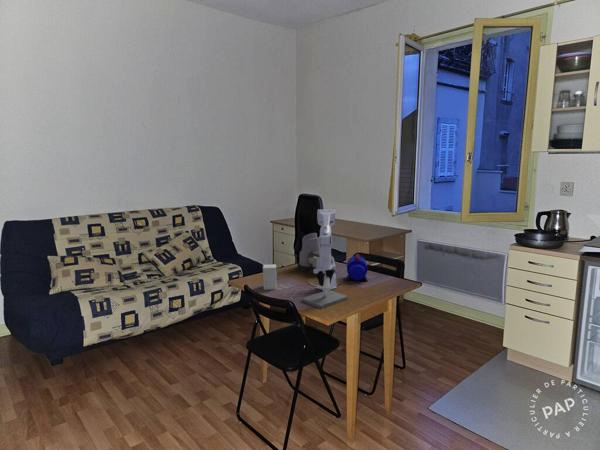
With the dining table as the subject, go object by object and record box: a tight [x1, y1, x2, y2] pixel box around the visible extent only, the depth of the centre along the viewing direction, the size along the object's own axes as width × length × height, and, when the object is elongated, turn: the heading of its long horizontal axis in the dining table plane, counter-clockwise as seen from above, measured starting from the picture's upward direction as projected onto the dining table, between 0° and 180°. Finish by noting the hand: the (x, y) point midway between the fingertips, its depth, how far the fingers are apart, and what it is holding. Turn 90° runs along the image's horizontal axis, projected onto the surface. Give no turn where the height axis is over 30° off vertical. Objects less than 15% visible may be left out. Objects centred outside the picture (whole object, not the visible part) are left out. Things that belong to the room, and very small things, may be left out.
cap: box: [320, 276, 330, 289], centre depth 212 cm, size 5×5×5 cm
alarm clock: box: [346, 253, 369, 283], centre depth 248 cm, size 12×12×15 cm
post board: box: [300, 289, 349, 309], centre depth 213 cm, size 20×14×5 cm
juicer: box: [295, 232, 334, 276], centre depth 266 cm, size 30×16×24 cm, turn 34°
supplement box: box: [262, 264, 278, 291], centre depth 233 cm, size 7×7×13 cm
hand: (324, 284), depth 212 cm, fingers closed on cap, 5 cm apart
